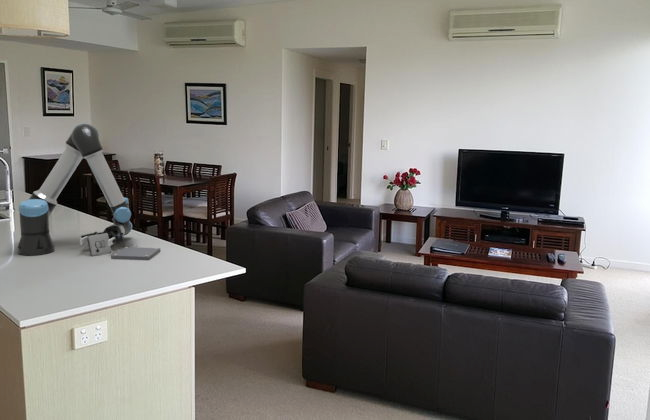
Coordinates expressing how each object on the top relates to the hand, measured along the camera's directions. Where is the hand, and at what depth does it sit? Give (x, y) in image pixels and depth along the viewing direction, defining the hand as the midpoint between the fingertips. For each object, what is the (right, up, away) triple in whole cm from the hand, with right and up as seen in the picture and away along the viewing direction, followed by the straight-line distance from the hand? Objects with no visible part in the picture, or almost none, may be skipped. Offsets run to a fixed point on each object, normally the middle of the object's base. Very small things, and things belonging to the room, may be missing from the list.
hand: (94, 242), depth 251 cm
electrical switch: (0, -6, +5) cm, 7 cm away
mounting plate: (+17, -6, +4) cm, 19 cm away
